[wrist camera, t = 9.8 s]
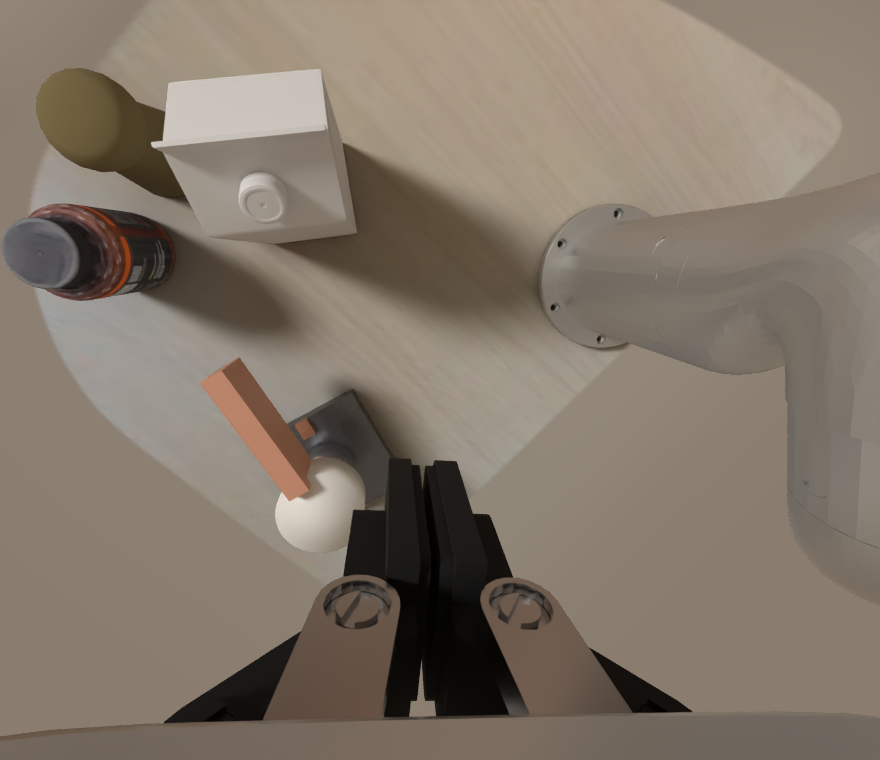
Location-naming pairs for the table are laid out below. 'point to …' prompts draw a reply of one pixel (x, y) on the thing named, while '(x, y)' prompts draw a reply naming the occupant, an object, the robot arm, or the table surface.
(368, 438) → the coupling base
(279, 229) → the milk carton
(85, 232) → the supplement bottle
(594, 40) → the table surface
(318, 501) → the orange bar with ball
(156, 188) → the olive pear
